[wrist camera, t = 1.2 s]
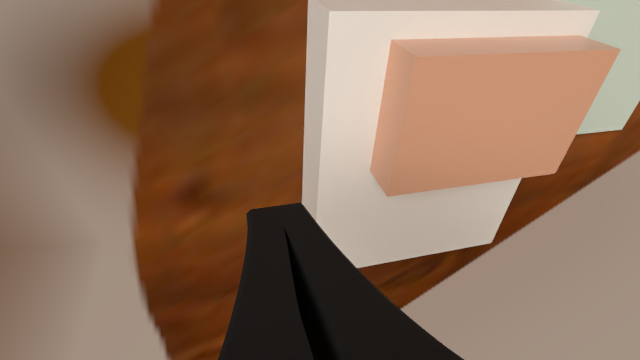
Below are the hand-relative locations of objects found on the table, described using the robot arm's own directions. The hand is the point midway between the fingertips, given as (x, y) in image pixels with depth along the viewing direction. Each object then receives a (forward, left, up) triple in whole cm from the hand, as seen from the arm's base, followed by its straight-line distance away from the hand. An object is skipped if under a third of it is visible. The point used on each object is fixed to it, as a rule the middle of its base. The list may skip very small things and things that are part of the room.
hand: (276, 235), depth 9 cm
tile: (0, -10, -6) cm, 12 cm away
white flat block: (-3, -9, -9) cm, 13 cm away
